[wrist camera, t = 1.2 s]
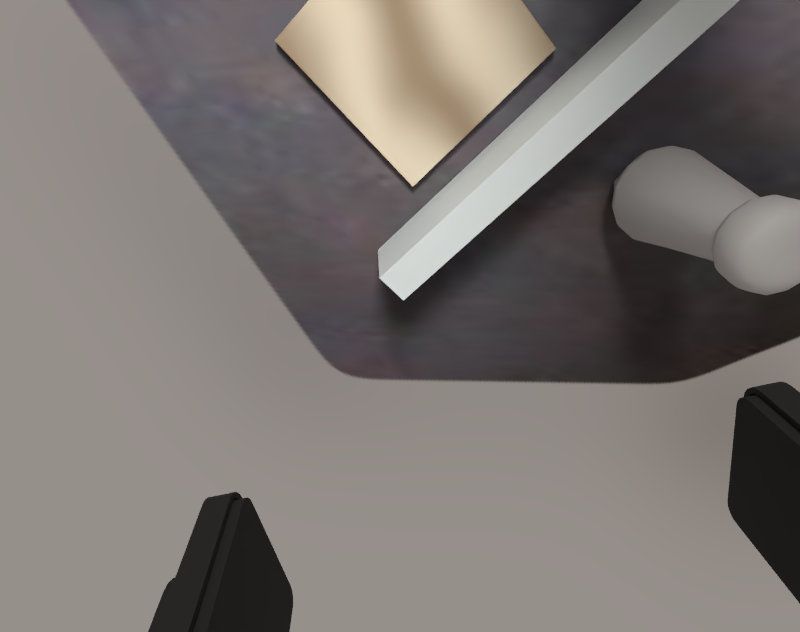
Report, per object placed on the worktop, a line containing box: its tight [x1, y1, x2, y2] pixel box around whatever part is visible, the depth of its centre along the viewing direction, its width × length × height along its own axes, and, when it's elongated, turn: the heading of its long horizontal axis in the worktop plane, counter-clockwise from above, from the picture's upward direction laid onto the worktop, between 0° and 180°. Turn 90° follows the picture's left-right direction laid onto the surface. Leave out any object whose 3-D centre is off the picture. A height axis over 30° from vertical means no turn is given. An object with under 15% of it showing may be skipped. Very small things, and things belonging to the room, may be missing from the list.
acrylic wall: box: [378, 0, 740, 301], centre depth 29 cm, size 24×2×5 cm, turn 134°
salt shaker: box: [612, 146, 800, 295], centre depth 28 cm, size 6×6×13 cm
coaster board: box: [275, 0, 556, 186], centre depth 29 cm, size 11×11×1 cm
